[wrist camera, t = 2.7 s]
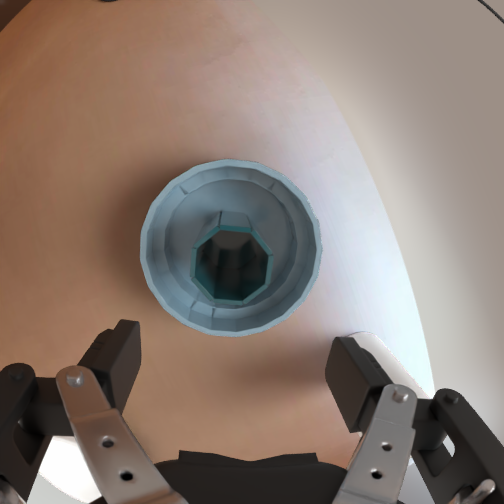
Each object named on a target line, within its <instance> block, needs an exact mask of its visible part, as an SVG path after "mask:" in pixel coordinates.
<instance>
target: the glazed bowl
mask: <svg viewBox="0 0 504 504" xmlns="http://www.w3.org/2000/svg"><path fill="white" fill-rule="evenodd" d="M222 211H232V212H241V213H245V215H247V214H248V216H249V217H250V218H251V219H252V221H253V222H254V223H255V224H256V226H257V227H258V228H259V229H260V231H261V232H262V234H263V236H264V238H265V239H266V241H267V243H268V245H269V247H270V248H271V250H272V252H273V253H272V254H273V256H274V259H273V266H272V273H271V280H270V284H267V286H268V288H266V289H265V290H264V291H263V292H261V293H260V294H259V295H257V296H256V297H255V298H253V299H252V300H251V301H249V302H248V303H247V304H244V303H243V302H242V305H231V304H220V303H213V300H211V301H209V300H208V299H207V298H206V296H205V295H204V294H203V293H202V292H201V291H200V290H199V289H198V288H197V287H196V285H195V284H194V283H193V282H192V281H191V278H192V277H190V262H191V248H192V246H193V244H194V242H195V240H196V238H197V236H198V234H199V232H200V230H201V228H202V226H203V225H204V224H205V223H206V222H208V221H209V220H210V219H211V218H212V217H214V216H215V215H216V214H217V213H219V212H221V213H222ZM322 249H323V247H322V240H321V233H320V226H319V222H318V219H317V217H316V215H315V213H314V211H313V209H312V207H311V205H310V203H309V201H308V199H307V197H306V196H305V195H304V194H303V193H302V192H301V191H300V190H299V189H298V188H297V187H296V186H295V185H294V184H293V183H292V182H291V181H290V180H289V179H288V178H287V177H286V176H285V175H283V174H281V173H279V172H277V171H275V170H273V169H271V168H268V167H266V166H264V165H262V164H260V163H258V162H252V161H243V160H234V159H222V160H218V161H213V162H208V163H204V164H200V165H196V166H194V167H192V168H191V169H189V170H187V171H186V172H184V173H182V174H181V175H179V176H178V177H176V178H174V179H173V180H171V181H170V182H169V183H168V184H167V185H166V187H165V188H164V189H163V190H162V191H161V193H160V194H159V195H158V196H157V197H156V199H155V200H154V201H153V202H152V204H151V205H150V208H149V211H148V213H147V216H146V219H145V221H144V224H143V227H142V229H141V238H140V262H141V265H142V268H143V272H144V275H145V278H146V282H147V285H148V287H149V288H150V290H151V291H152V293H153V294H154V296H155V297H156V299H157V300H158V302H159V303H160V304H161V306H162V307H163V309H164V310H166V311H167V312H168V313H170V314H171V315H172V316H173V317H175V318H176V319H177V320H178V321H180V322H181V323H182V324H184V325H185V326H188V327H191V328H193V329H196V330H198V331H201V332H203V333H206V334H210V335H216V336H228V337H240V336H245V335H250V334H254V333H259V332H263V331H265V330H267V329H269V328H271V327H273V326H275V325H276V324H278V323H280V322H282V321H284V320H286V319H287V318H288V317H289V316H290V315H291V314H292V313H293V312H294V311H295V310H296V309H297V308H298V307H299V306H300V305H301V304H302V303H303V302H304V301H305V300H306V298H307V296H308V294H309V292H310V290H311V289H312V287H313V285H314V283H315V281H316V279H317V277H318V273H319V268H320V262H321V257H322V251H323V250H322Z"/></svg>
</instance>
